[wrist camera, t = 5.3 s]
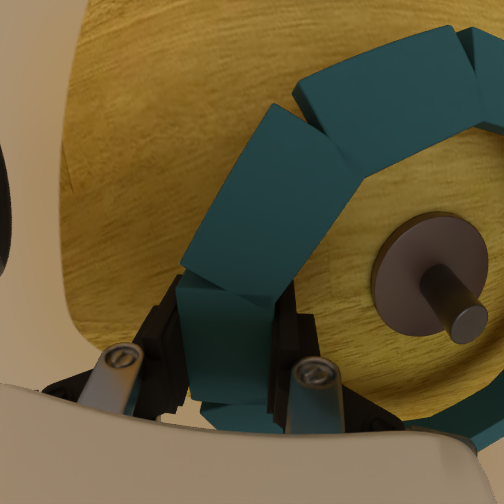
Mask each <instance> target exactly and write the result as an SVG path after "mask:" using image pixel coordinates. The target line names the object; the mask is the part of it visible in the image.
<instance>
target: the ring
mask: <svg viewBox="0 0 504 504" xmlns="http://www.w3.org/2000/svg"><path fill="white" fill-rule="evenodd" d="M292 96H293V97H294V99H295V101H296V103H297V104H298V106H299V108H300V110H301V111H302V113H303V115H304V117H305V119H306V121H307V122H308V123H307V122H305V121H303V120H302V119H300V118H299V117H297V116H295V115H294V114H292V113H290V112H289V111H287V110H285V109H284V108H282V107H280V106H279V105H277V104H275V103H273V104H272V105H271V106H270V108H269V109H268V111H267V113H266V114H265V116H264V117H263V119H262V121H261V122H260V124H259V125H258V127H257V129H256V130H255V132H254V134H253V135H252V137H251V138H250V140H249V142H248V143H247V145H246V147H245V148H244V150H243V152H242V153H241V155H240V157H239V158H238V160H237V162H236V163H235V165H234V167H233V168H232V170H231V172H230V174H229V175H228V177H227V179H226V180H225V182H224V184H223V186H222V187H221V189H220V191H219V193H218V194H217V196H216V198H215V200H214V201H213V203H212V205H211V207H210V208H209V210H208V212H207V214H206V215H205V217H204V219H203V221H202V223H201V224H200V226H199V228H198V230H197V232H196V234H195V235H194V237H193V239H192V241H191V243H190V245H189V246H188V248H187V250H186V252H185V254H184V256H183V258H182V260H181V261H180V265H181V266H183V267H185V268H187V269H186V270H185V272H184V274H183V276H182V277H181V279H180V281H179V283H178V285H177V286H176V289H175V290H176V299H177V307H178V314H179V316H180V324H181V332H182V339H183V346H184V353H185V359H186V366H187V372H188V378H189V388H190V393H191V399H192V400H196V401H202V404H201V408H200V414H201V415H202V416H203V417H204V418H205V419H206V420H207V421H208V422H209V423H210V424H212V425H213V426H214V427H215V428H216V429H217V430H225V431H236V432H250V433H269V434H283V429H282V428H281V427H279V426H278V425H277V424H276V423H273V414H267V396H268V379H269V364H270V348H271V331H272V321H273V320H274V309H275V302H276V301H277V300H278V299H279V297H280V296H281V295H282V293H283V292H284V291H285V289H286V288H287V287H288V285H289V284H290V283H291V281H292V280H293V278H294V277H295V276H296V274H297V273H298V272H299V270H300V269H301V268H302V266H303V265H304V263H305V262H306V261H307V259H308V258H309V257H310V255H311V254H312V252H313V251H314V250H315V248H316V247H317V246H318V244H319V243H320V241H321V240H322V239H323V237H324V236H325V234H326V233H327V232H328V230H329V229H330V227H331V226H332V224H333V223H334V222H335V220H336V219H337V217H338V216H339V214H340V213H341V212H342V210H343V209H344V207H345V206H346V204H347V203H348V201H349V200H350V199H351V197H352V196H353V194H354V193H355V191H356V190H357V188H358V187H359V185H360V184H361V182H362V181H363V179H364V178H366V177H368V176H370V175H372V174H374V173H377V172H379V171H381V170H383V169H385V168H387V167H389V166H391V165H393V164H395V163H397V162H399V161H401V160H403V159H405V158H408V157H410V156H412V155H414V154H416V153H418V152H420V151H422V150H424V149H426V148H428V147H430V146H433V145H435V144H437V143H439V142H441V141H443V140H445V139H447V138H449V137H452V136H454V135H456V134H458V133H460V132H462V131H464V130H466V129H469V128H471V127H476V128H480V129H483V130H487V131H490V132H494V133H497V134H500V135H503V136H504V40H502V39H500V38H498V37H495V36H493V35H491V34H489V33H487V32H484V31H482V30H480V29H477V28H475V27H470V28H467V29H464V30H462V31H459V32H456V33H455V31H454V29H453V27H452V26H451V25H446V26H442V27H439V28H435V29H432V30H428V31H425V32H422V33H418V34H415V35H412V36H409V37H406V38H403V39H400V40H397V41H394V42H391V43H388V44H385V45H383V46H380V47H377V48H375V49H372V50H369V51H367V52H364V53H361V54H359V55H356V56H354V57H351V58H349V59H346V60H344V61H342V62H339V63H337V64H335V65H332V66H330V67H328V68H325V69H323V70H321V71H319V72H316V73H314V74H312V75H310V76H308V77H305V78H303V79H301V80H299V82H298V83H297V85H296V86H295V88H294V90H293V92H292ZM402 422H403V424H404V426H405V427H408V428H411V427H412V425H415V426H420V427H424V428H428V429H432V430H437V431H441V432H446V433H451V434H456V435H461V436H464V437H467V438H469V439H470V440H471V441H473V442H474V444H475V446H476V447H477V452H478V451H480V450H482V449H484V448H485V447H487V446H489V445H490V444H492V443H494V442H496V441H497V440H499V439H500V438H502V437H504V370H503V371H502V372H501V373H500V374H499V375H498V376H497V377H496V378H495V379H494V380H493V381H492V382H491V383H490V384H489V385H488V386H486V387H485V388H483V389H481V390H480V391H478V392H476V393H474V394H473V395H471V396H469V397H467V398H466V399H464V400H462V401H460V402H458V403H457V404H455V405H453V406H451V407H449V408H447V409H445V410H443V411H441V412H439V413H437V414H435V415H433V416H431V417H427V418H421V419H414V420H408V421H402Z"/></svg>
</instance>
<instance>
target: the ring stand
mask: <svg viewBox="0 0 504 504" xmlns="http://www.w3.org/2000/svg"><path fill="white" fill-rule="evenodd" d="M487 273H488V253H487V248H486V245H485V242H484V240H483V238H482V236H481V234H480V233H479V232H478V230H477V229H476V228H475V227H474V226H473V225H471V224H470V223H469V222H467V221H466V220H464V219H463V218H461V217H459V216H457V215H454V214H452V213H447V212H431V213H427V214H423V215H420V216H418V217H415V218H413V219H411V220H410V221H408V222H406V223H405V224H403V225H402V226H401V227H399V228H398V229H397V230H396V231H395V232H394V233H393V234H392V235H391V236H390V237H389V239H388V240H387V241H386V242H385V244H384V245H383V247H382V248H381V250H380V252H379V254H378V256H377V259H376V261H375V264H374V267H373V271H372V277H371V292H372V298H373V301H374V304H375V306H376V309H377V311H378V313H379V315H380V317H381V318H382V320H383V321H384V322H385V323H386V324H387V325H388V326H389V327H390V328H391V329H393V330H394V331H396V332H398V333H401V334H404V335H408V336H418V337H420V336H428V335H433V334H436V333H439V332H441V331H443V330H446V331H447V333H448V335H449V336H450V338H451V339H452V341H453V342H455V343H457V344H466V343H469V342H471V341H473V340H474V339H476V338H477V337H478V336H479V335H480V334H481V333H482V331H483V330H484V328H485V326H486V324H487V321H488V312H487V310H486V308H485V307H484V306H483V305H482V303H481V302H480V301H479V300H478V298H479V296H480V294H481V292H482V290H483V287H484V285H485V282H486V278H487Z"/></svg>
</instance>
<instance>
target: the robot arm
mask: <svg viewBox="0 0 504 504" xmlns="http://www.w3.org/2000/svg"><path fill="white" fill-rule="evenodd" d="M182 276H183V275H181V274H177V276H176V277H175V279H174V281H173V282H172V284H171V286H170V287H169V289H168V291H167V292H166V294H165V296H164V298H163V299H162V301H161V303H160V305H159V306H158V305H155V306H153V307H152V309H151V311H150V312H149V314H148V316H147V317H146V319H145V321H144V322H143V324H142V326H141V328H140V329H139V331H138V333H137V334H136V336H135V338H134V340H133V341H132V343H130V342H121V343H116V344H113V345H111V346H109V347H108V348H106V349H105V350H104V351H103V352H102V354H101V356H100V357H99V359H98V361H97V363H96V365H95V367H94V369H91V370H88V371H86V372H83V373H80V374H78V375H75V376H72V377H70V378H67V379H64V380H61V381H58V382H56V383H53V384H51V385H49V386H47V387H46V388H44V389H43V390H42V392H39V390H31V389H27V388H24V387H19V386H15V385H9V384H1V383H0V504H497V502H496V499H495V496H494V493H493V491H492V488H491V485H490V483H489V480H488V478H487V476H486V474H485V471H484V469H483V468H482V466H481V464H480V462H479V460H478V459H477V447H476V446H475V444H474V442H473V441H471V440H470V439H469V438H467V437H464V436H461V435H456V434H451V433H446V432H441V431H437V430H432V429H428V428H424V427H420V426H415V425H412V427H411V428H408V427H405V426H404V424H403V422H402V421H401V420H400V419H399V418H398V417H396V416H395V415H394V414H392V413H390V412H388V411H386V410H385V409H383V408H381V407H379V406H378V405H376V404H374V403H373V402H371V401H369V400H367V399H366V398H364V397H362V396H361V395H359V394H357V393H356V392H354V391H352V390H351V389H349V388H347V387H346V386H344V385H342V383H341V373H340V370H339V368H338V366H337V365H336V364H335V363H334V362H332V361H331V360H329V359H326V358H324V357H321V356H320V350H319V344H318V337H317V331H316V325H315V319H314V315H313V314H298V313H297V312H296V301H295V291H294V281H293V280H292V281H291V283H290V284H289V285H288V287H287V288H286V289H285V291H284V292H283V293H282V295H281V296H280V297H279V299H278V300H277V301H276V302H275V309H274V320H273V321H272V331H271V348H270V364H269V379H268V396H267V414H273V423H276V424H277V425H278V426H279V427H281V428H282V429H283V434H269V433H250V432H236V431H225V430H214V429H204V428H197V427H190V426H182V425H176V424H169V423H163V422H161V415H162V414H164V413H171V414H176V411H177V407H178V406H183V404H184V401H185V397H186V394H187V390H188V387H189V378H188V372H187V366H186V359H185V353H184V346H183V339H182V332H181V324H180V316H179V314H178V307H177V299H176V290H175V289H176V286H177V285H178V283H179V281H180V279H181V277H182Z"/></svg>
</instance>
